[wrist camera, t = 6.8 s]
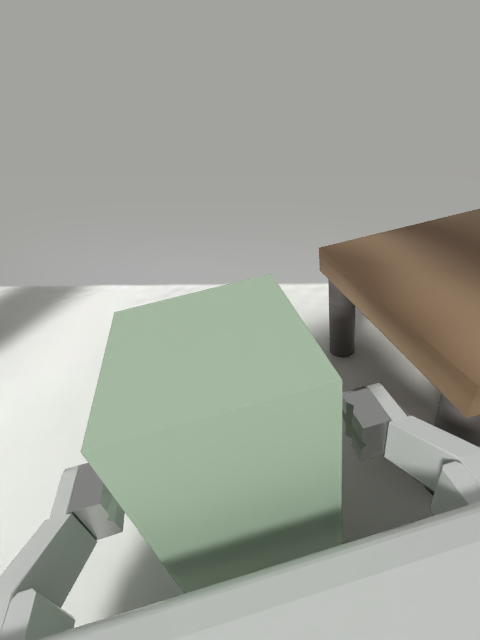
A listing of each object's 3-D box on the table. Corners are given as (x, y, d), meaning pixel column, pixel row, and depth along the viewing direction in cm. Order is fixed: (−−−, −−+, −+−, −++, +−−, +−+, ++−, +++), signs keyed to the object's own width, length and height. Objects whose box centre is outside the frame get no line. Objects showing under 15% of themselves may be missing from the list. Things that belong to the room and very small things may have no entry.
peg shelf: (436, 510, 14) (477, 385, 10) (322, 344, 24) (319, 247, 20) (663, 439, 15) (790, 296, 11) (461, 307, 25) (486, 207, 21)
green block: (211, 630, 12) (80, 451, 6) (199, 497, 16) (114, 312, 10) (340, 588, 12) (342, 379, 6) (296, 469, 17) (270, 273, 10)
